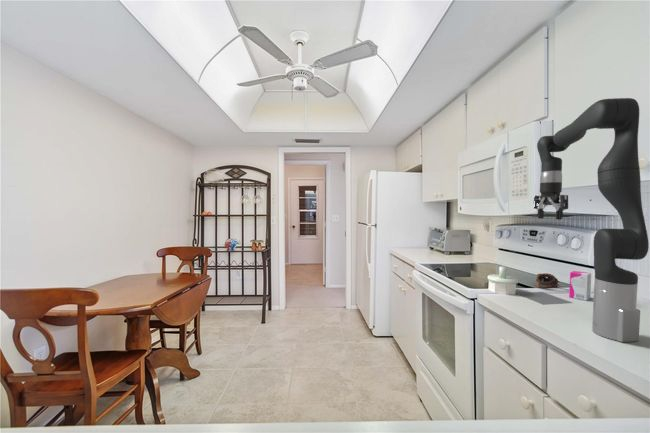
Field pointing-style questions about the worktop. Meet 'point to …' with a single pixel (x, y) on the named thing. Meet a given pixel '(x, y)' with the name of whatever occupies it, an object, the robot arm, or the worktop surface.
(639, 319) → the robot arm
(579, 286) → the supplement box
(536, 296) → the mat
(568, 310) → the worktop surface
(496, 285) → the bowl
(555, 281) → the pottery mug
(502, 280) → the lid
